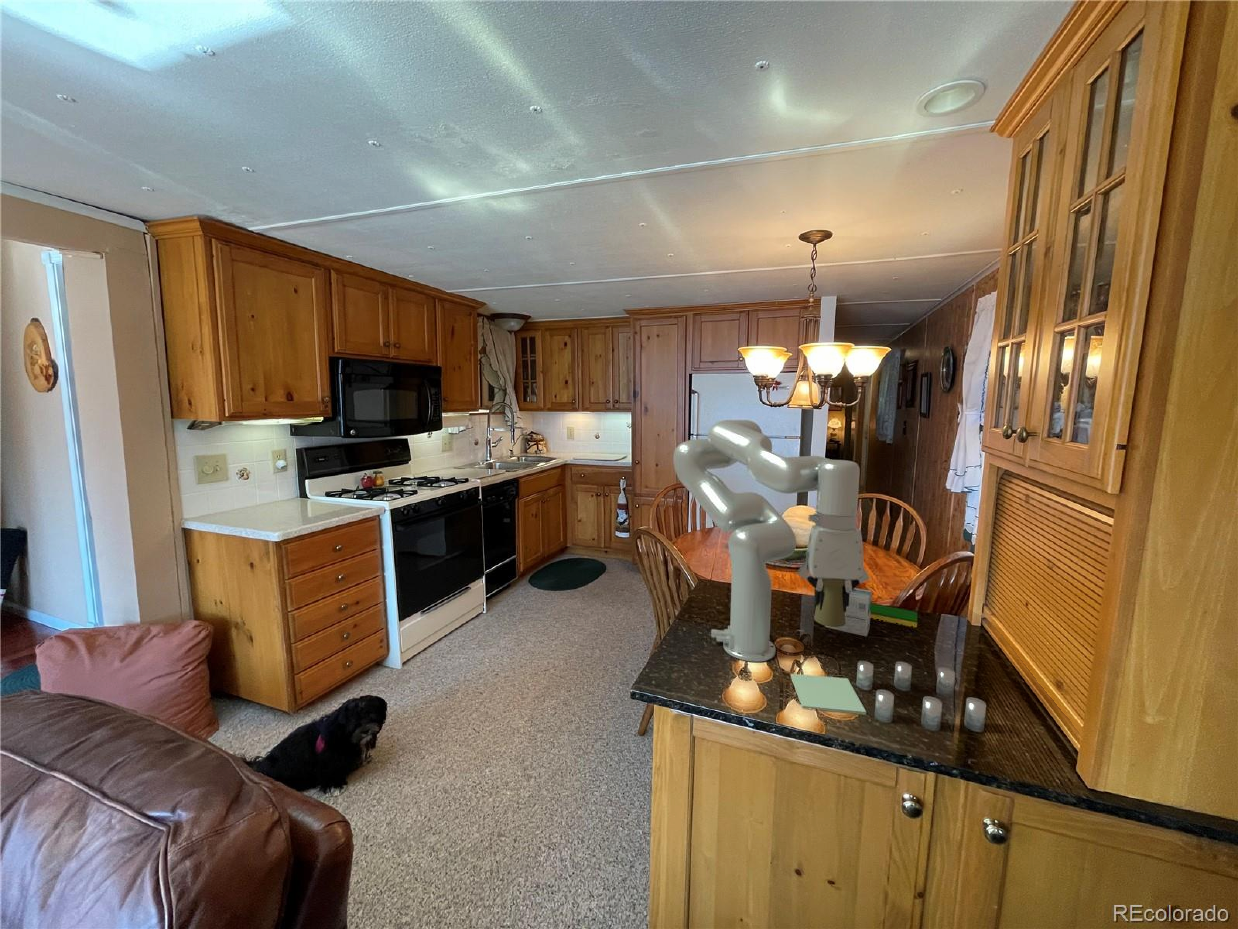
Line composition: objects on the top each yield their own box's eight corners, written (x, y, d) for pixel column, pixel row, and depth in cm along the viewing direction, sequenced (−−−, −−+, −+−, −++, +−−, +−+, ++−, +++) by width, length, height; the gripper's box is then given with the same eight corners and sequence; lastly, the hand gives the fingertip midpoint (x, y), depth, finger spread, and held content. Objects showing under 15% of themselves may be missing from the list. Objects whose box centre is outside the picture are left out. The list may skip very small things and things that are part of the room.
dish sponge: (863, 609, 146) (863, 601, 146) (916, 619, 139) (917, 611, 139) (860, 617, 140) (861, 610, 140) (916, 629, 133) (917, 620, 133)
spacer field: (879, 725, 92) (881, 700, 91) (853, 679, 108) (854, 658, 107) (990, 736, 89) (993, 711, 88) (946, 687, 105) (948, 665, 104)
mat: (802, 708, 97) (802, 706, 97) (790, 676, 109) (790, 673, 109) (866, 714, 95) (866, 712, 95) (847, 681, 107) (847, 678, 107)
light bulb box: (869, 628, 133) (872, 590, 132) (867, 637, 127) (869, 598, 126) (828, 618, 139) (830, 582, 138) (823, 627, 133) (826, 589, 132)
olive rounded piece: (849, 628, 96) (852, 575, 95) (817, 625, 98) (819, 573, 96) (841, 615, 102) (844, 565, 101) (811, 613, 104) (813, 563, 102)
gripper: (796, 524, 95) (792, 613, 97) (887, 527, 93) (880, 619, 95) (789, 515, 103) (785, 598, 105) (873, 518, 100) (867, 604, 102)
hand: (830, 607), depth 100 cm, fingers closed on olive rounded piece, 3 cm apart
